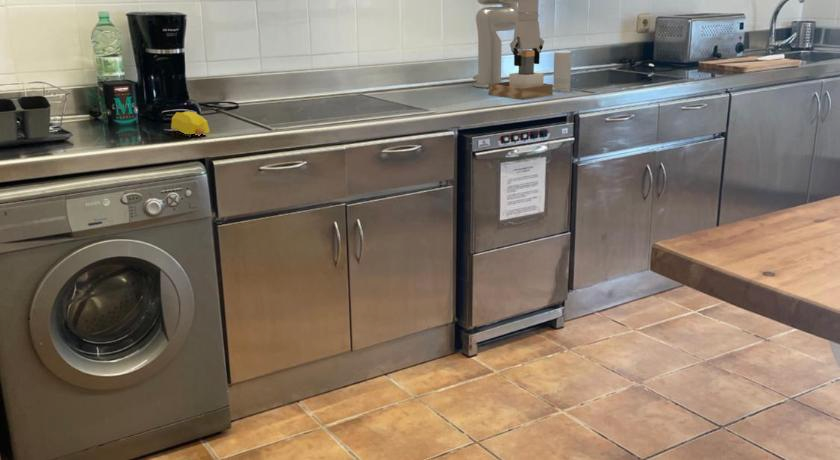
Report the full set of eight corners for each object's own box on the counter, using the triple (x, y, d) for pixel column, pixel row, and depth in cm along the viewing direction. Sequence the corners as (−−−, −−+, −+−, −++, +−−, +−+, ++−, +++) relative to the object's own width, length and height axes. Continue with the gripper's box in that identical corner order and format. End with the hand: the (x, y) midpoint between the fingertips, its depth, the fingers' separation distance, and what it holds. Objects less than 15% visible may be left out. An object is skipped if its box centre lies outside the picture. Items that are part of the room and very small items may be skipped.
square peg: (517, 83, 309) (518, 50, 306) (525, 82, 312) (526, 49, 308) (525, 84, 306) (526, 51, 303) (533, 83, 309) (534, 50, 305)
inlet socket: (509, 95, 311) (509, 73, 308) (525, 92, 316) (526, 71, 314) (526, 97, 304) (527, 75, 302) (543, 95, 310) (543, 73, 307)
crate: (488, 96, 313) (488, 84, 312) (517, 91, 323) (518, 80, 321) (523, 101, 300) (523, 88, 298) (552, 96, 309) (552, 84, 308)
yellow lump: (192, 128, 258) (168, 131, 254) (190, 107, 256) (166, 110, 252) (213, 137, 244) (188, 140, 240) (211, 115, 242) (186, 117, 238)
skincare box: (569, 93, 317) (571, 52, 312) (552, 93, 318) (553, 52, 313) (570, 90, 324) (571, 50, 320) (553, 90, 326) (554, 50, 321)
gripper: (536, 16, 310) (535, 62, 315) (503, 18, 299) (503, 66, 304) (551, 16, 304) (549, 63, 309) (518, 19, 294) (517, 67, 299)
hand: (526, 64), depth 307 cm, fingers open, 9 cm apart
